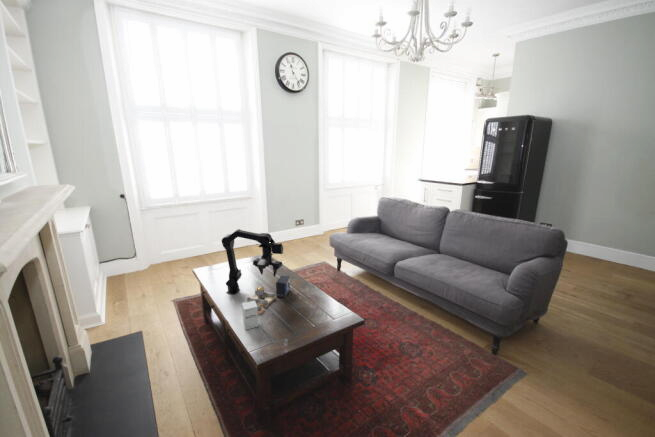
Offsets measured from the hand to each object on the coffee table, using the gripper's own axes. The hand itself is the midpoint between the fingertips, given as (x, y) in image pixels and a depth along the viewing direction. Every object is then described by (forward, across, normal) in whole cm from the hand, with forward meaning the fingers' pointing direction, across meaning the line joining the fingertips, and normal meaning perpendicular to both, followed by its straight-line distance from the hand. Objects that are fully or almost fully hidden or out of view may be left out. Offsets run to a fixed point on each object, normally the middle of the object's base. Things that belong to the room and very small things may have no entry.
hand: (268, 275), depth 196 cm
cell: (+12, 0, -10) cm, 15 cm away
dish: (+13, +4, -22) cm, 25 cm away
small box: (+13, +9, +3) cm, 16 cm away
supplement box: (+13, +8, -34) cm, 37 cm away
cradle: (+13, 0, -10) cm, 16 cm away
